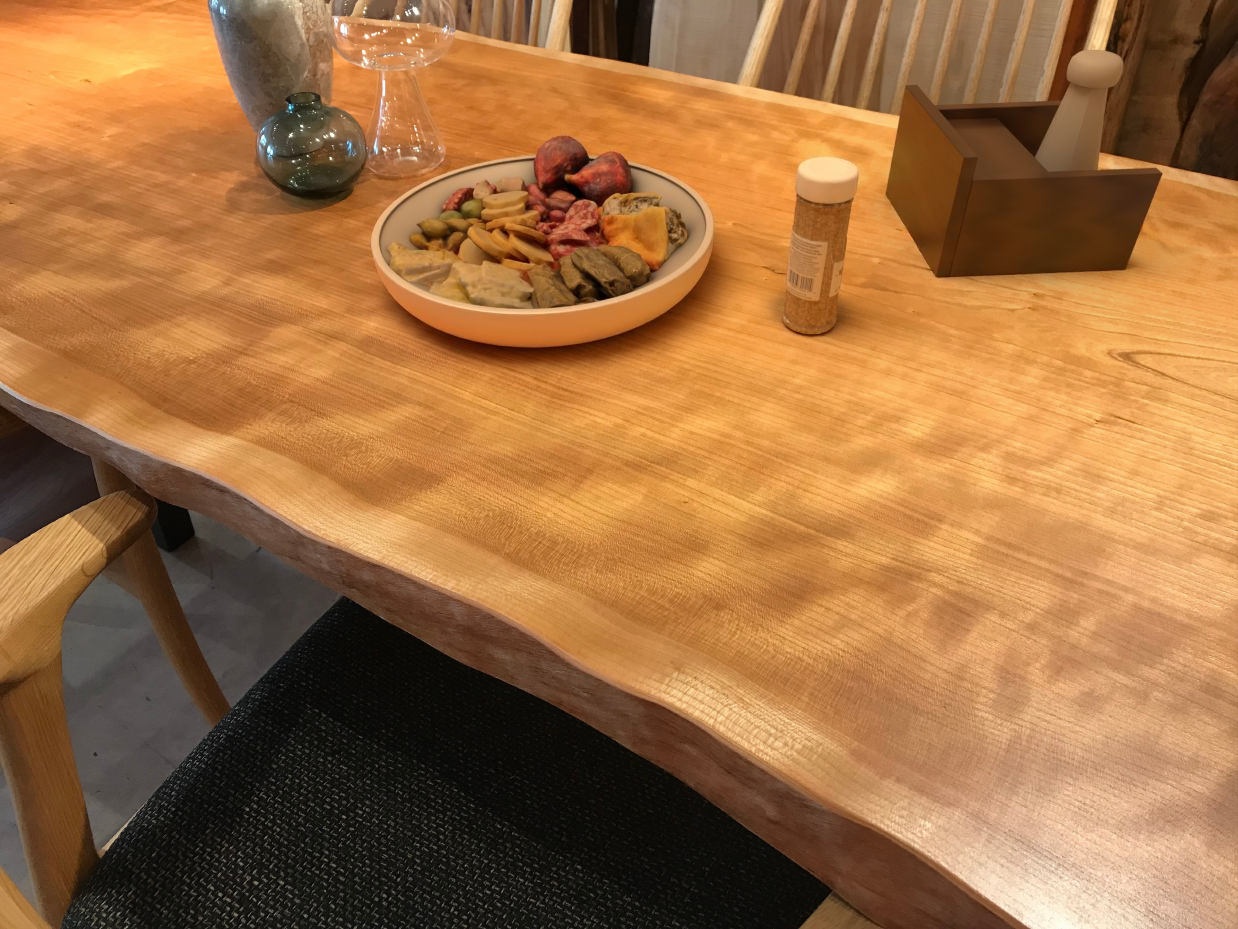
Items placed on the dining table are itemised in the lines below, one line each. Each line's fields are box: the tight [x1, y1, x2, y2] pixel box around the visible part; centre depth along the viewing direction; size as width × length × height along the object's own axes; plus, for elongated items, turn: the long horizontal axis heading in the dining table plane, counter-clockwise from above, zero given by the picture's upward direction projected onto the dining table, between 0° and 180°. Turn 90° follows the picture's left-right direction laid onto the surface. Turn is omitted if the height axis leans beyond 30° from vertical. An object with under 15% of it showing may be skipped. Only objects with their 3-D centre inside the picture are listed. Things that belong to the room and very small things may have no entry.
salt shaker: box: [1035, 49, 1124, 172], centre depth 82 cm, size 6×6×13 cm
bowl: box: [370, 135, 715, 348], centre depth 81 cm, size 30×30×8 cm
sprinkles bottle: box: [781, 156, 860, 335], centre depth 72 cm, size 5×5×13 cm
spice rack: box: [885, 84, 1163, 278], centre depth 84 cm, size 17×17×11 cm
